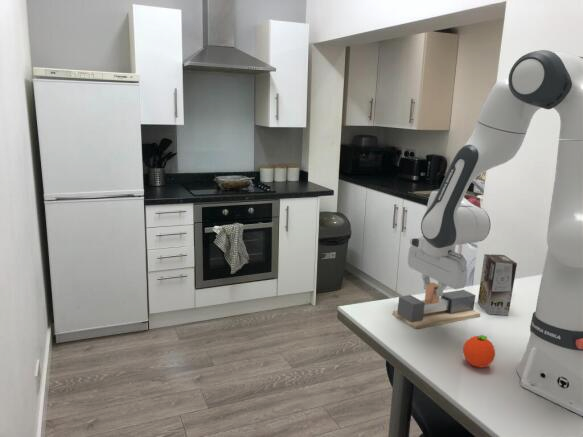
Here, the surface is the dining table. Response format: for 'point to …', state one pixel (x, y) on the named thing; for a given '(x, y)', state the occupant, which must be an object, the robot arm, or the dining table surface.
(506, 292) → the coffee box
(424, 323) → the oak board
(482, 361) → the clementine
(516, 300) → the dining table surface
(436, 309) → the bar
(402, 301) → the socket block
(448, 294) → the sleeve
